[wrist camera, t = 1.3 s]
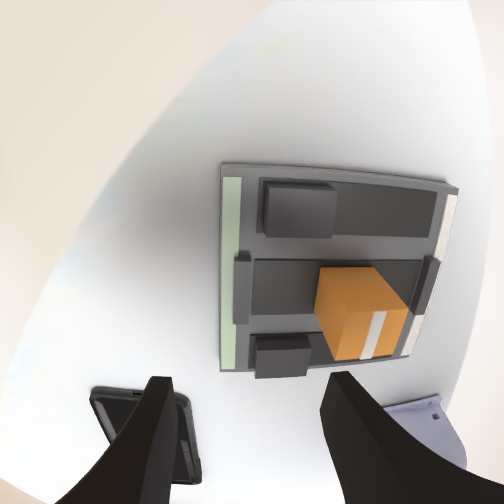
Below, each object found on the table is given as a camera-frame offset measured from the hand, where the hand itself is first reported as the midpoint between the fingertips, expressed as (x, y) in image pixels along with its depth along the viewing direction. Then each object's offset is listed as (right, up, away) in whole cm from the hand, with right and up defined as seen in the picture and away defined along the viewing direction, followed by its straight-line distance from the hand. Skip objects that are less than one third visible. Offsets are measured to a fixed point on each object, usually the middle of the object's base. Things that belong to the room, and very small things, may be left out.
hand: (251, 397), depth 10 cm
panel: (+5, +3, +8) cm, 10 cm away
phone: (-9, -12, +14) cm, 20 cm away
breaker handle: (+5, +3, +7) cm, 9 cm away
